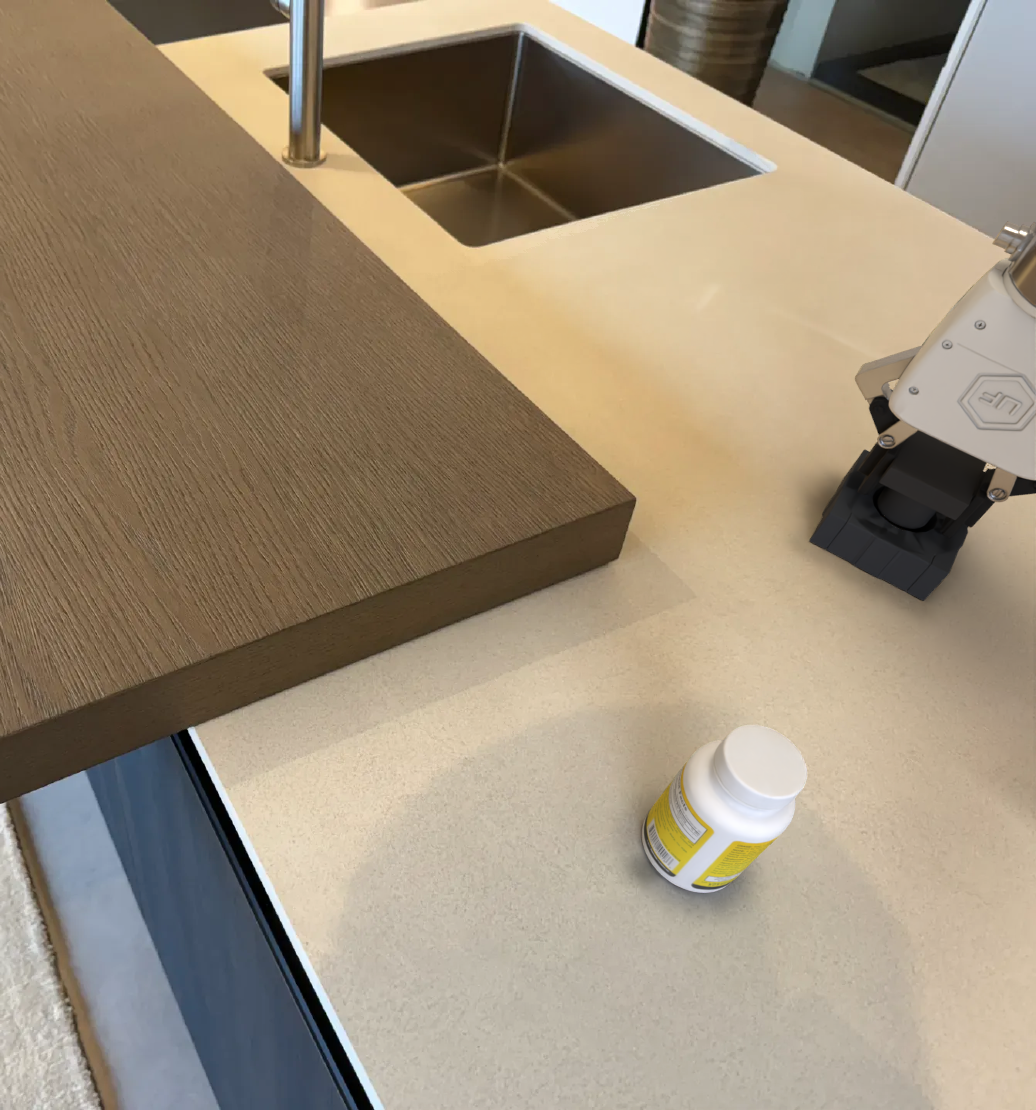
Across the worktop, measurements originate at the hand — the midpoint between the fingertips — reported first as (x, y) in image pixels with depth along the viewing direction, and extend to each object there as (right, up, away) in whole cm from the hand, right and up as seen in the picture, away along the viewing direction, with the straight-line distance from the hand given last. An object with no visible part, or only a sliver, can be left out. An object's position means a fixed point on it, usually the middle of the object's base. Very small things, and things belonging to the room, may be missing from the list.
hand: (909, 501), depth 70 cm
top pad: (0, -1, +1) cm, 1 cm away
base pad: (0, -2, +3) cm, 4 cm away
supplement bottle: (-20, -20, -13) cm, 31 cm away
